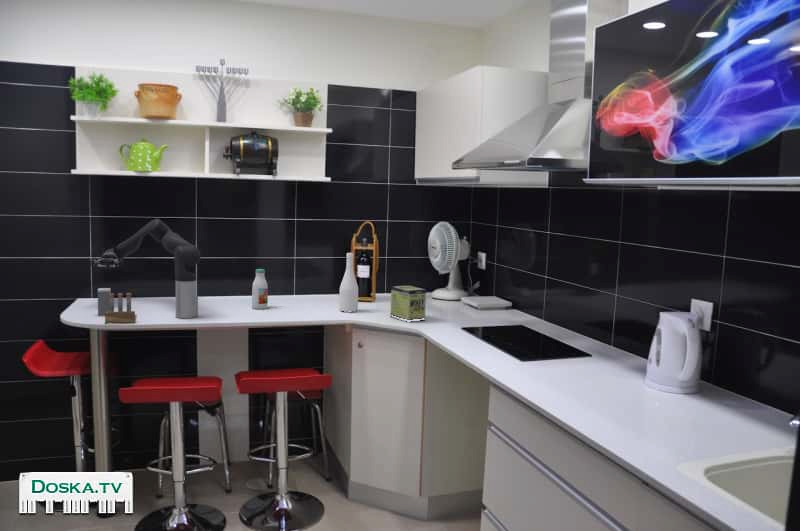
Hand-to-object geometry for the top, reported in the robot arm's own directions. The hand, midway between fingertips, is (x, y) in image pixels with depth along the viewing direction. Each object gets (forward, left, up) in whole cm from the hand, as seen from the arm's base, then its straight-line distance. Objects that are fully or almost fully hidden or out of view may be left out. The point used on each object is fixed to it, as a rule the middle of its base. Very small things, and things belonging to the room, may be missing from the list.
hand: (106, 264), depth 313 cm
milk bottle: (-63, +34, -22) cm, 76 cm away
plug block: (+5, +10, -22) cm, 25 cm away
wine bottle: (-96, +65, -22) cm, 119 cm away
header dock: (+3, +24, -22) cm, 33 cm away
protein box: (-108, +96, -22) cm, 147 cm away
